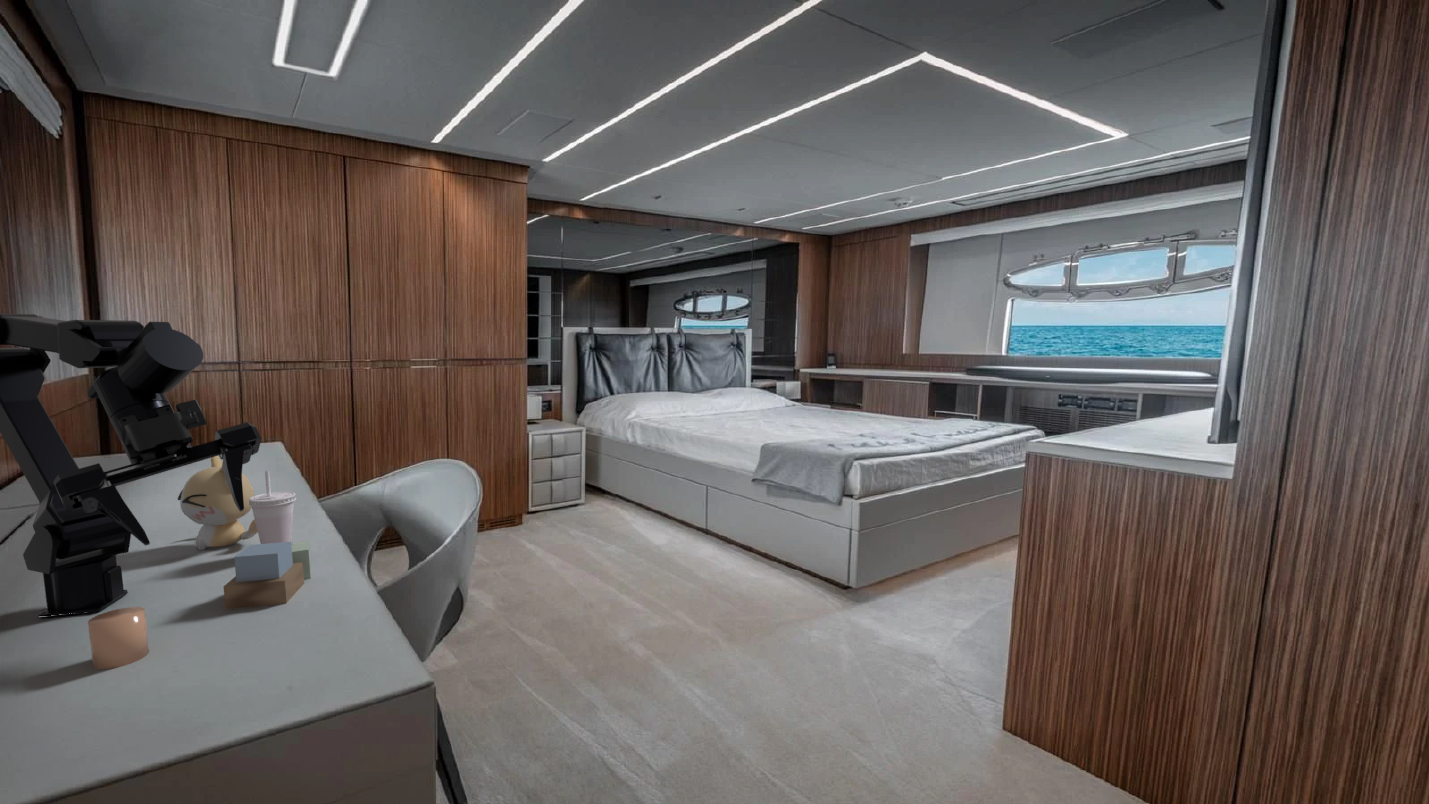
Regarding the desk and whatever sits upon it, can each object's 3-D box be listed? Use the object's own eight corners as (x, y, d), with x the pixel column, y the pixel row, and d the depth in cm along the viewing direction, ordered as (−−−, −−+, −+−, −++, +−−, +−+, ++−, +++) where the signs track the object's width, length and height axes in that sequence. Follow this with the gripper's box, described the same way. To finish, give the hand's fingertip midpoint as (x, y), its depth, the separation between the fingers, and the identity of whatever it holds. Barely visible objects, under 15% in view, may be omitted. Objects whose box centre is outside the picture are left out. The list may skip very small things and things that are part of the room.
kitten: (174, 542, 110) (165, 457, 108) (243, 528, 118) (237, 449, 116) (194, 562, 100) (185, 469, 99) (269, 546, 108) (262, 459, 106)
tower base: (225, 612, 83) (223, 586, 83) (248, 591, 90) (246, 567, 90) (286, 605, 85) (284, 580, 85) (304, 585, 92) (302, 562, 92)
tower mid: (236, 582, 84) (234, 557, 84) (252, 568, 89) (250, 544, 89) (279, 578, 86) (277, 553, 85) (292, 565, 90) (291, 541, 90)
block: (273, 585, 92) (271, 555, 91) (276, 575, 95) (273, 546, 95) (310, 578, 94) (308, 549, 93) (311, 569, 98) (309, 541, 97)
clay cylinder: (82, 672, 68) (77, 627, 68) (109, 651, 72) (104, 609, 72) (134, 665, 69) (129, 622, 69) (157, 646, 74) (153, 604, 73)
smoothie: (244, 557, 103) (236, 472, 101) (283, 544, 109) (277, 464, 107) (270, 562, 100) (263, 475, 99) (309, 549, 106) (303, 467, 105)
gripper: (20, 410, 64) (84, 546, 63) (236, 363, 77) (293, 475, 76) (37, 448, 72) (94, 570, 71) (230, 399, 85) (282, 501, 84)
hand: (197, 526), depth 75 cm, fingers open, 9 cm apart
